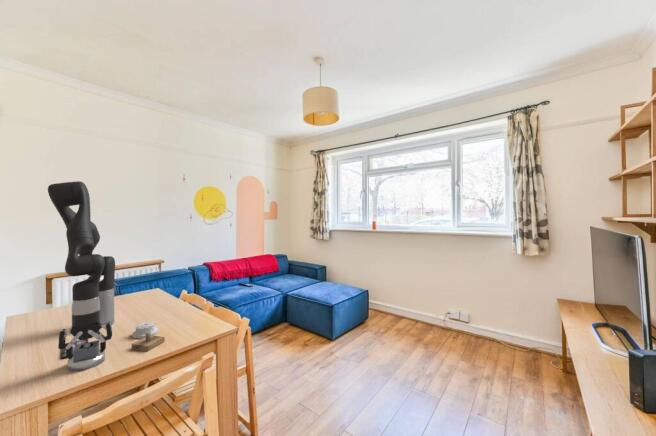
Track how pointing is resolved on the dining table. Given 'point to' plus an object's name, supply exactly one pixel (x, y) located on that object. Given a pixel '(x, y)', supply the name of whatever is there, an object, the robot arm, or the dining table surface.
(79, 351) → the grey notched block
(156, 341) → the stand
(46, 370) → the dining table surface
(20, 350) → the dining table surface
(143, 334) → the grey rounded lump
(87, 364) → the stand
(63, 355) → the smartphone
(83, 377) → the dining table surface
